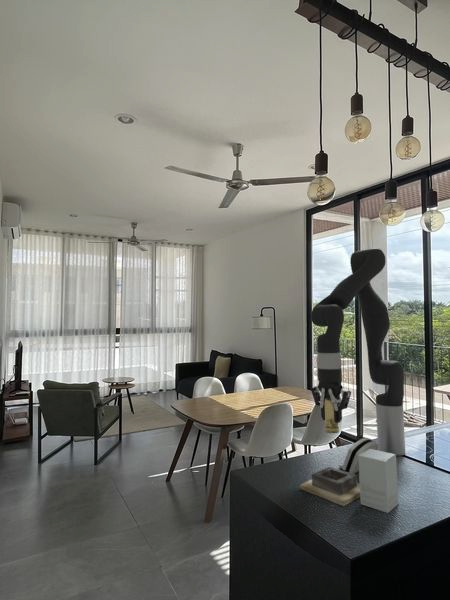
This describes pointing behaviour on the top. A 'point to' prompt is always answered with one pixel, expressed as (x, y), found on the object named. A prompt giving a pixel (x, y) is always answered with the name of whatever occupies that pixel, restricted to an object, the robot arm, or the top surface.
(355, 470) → the white black curved block
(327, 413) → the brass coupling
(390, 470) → the supplement box
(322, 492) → the socket board
